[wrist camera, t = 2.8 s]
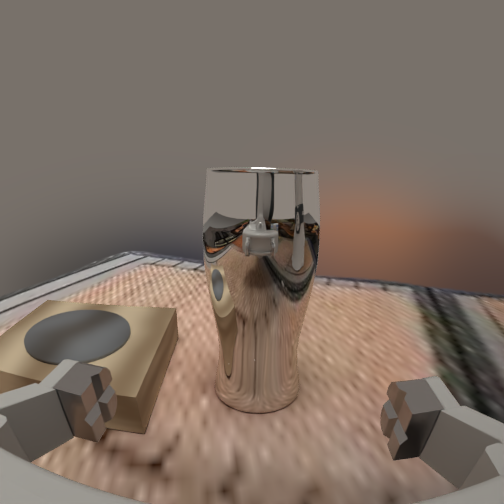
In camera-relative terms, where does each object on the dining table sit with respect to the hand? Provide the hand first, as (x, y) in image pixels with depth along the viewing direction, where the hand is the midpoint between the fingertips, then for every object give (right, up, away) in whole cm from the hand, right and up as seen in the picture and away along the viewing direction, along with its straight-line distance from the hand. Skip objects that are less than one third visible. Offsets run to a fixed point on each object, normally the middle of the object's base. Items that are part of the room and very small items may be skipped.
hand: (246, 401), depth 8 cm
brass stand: (-14, -5, +14) cm, 20 cm away
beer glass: (+1, -6, +14) cm, 15 cm away
